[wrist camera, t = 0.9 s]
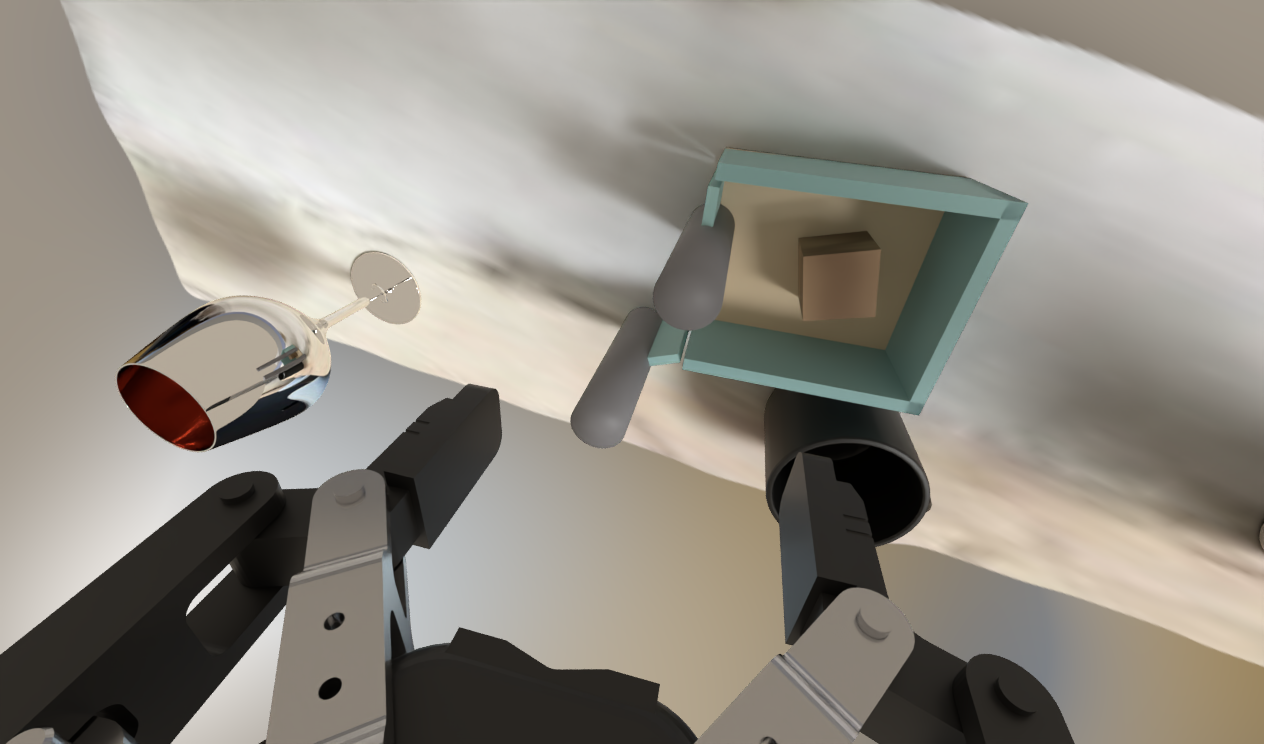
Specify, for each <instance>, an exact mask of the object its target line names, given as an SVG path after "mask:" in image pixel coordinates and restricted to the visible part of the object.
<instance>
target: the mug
mask: <svg viewBox="0 0 1264 744" xmlns="http://www.w3.org/2000/svg"><path fill="white" fill-rule="evenodd" d="M764 426H765V476H766V499H767V503H768V506H769V509H770V511H771V513H772V515H773V516H774V518H775V519H776V520H777V522H778V523H779V511H780V504H781V499H782V495H783V492H784V490H785V487H786V484H787V481H788V478H789V476H790V473H791V470H792V467H793V464H794V461H795V459H796V456H797V454H798V453H799V452H803V453H808V454H812V455H817V456H822V457H827V458H831V460H832V462H833V467H834V472H835V477H836V481H840V482H845V483H850V484H851V485H852V486H853V488H854V489H855V491H856V492H857V493H858V495H859V496H860V497H861V499H862V500H863V502H864V505H865V509H866V513H867V517H868V523H869V525H870V529H871V533H872V539H873V540H874V544H875V547H877V546H881V545H884V544H887V543H890V542H893V541H895V540H897V539H898V538H900V537H902V536H904V535H905V534H907V533H908V532H910V531H911V530H912V529H913V528H914V527H915V526H916V525H917V524H918V523H919V522H920V521H921V519H922V518H923V516H924V515H925V513H926V512H927V511H929V510H930V508H931V506H932V504H931V498H930V486H929V482H928V479H927V476H926V473H925V471H924V469H923V467H922V464H921V462H920V460H919V457H918V455H917V453H916V450H915V448H914V446H913V443H912V441H911V439H910V437H909V434H908V432H907V430H906V427H905V425H904V423H903V420H902V418H901V416H900V413H899V411H893V410H888V409H883V408H878V407H873V406H868V405H863V404H857V403H852V402H847V401H842V400H837V399H832V398H827V397H821V396H816V395H811V394H806V393H801V392H796V391H791V390H785V389H780V388H776V389H775V390H774V391H773V393H772V394H771V396H770V398H769V400H768V402H767V404H766V407H765V413H764Z"/></svg>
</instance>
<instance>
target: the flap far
mask: <svg viewBox="0 0 1264 744" xmlns="http://www.w3.org/2000/svg"><path fill="white" fill-rule="evenodd" d="M688 332H689V330H681V329H677V328H674V327H672V326H670V325H669V324H667V323H666V322H665V321H664V320H663V319H662V318H661V317H660V316H659V314H658V313H657V312H656V311H655V310H653V309H651V308H647V307H640V308H636V309H634V310H632V311H631V312H630V313H629V314H628V316H627V317H626V319H625V321H624V323H623V324H622V326H621V328H620V330H619V331H618V333H617V335H616V337H615V338H614V340H613V342H612V344H611V345H610V347H609V349H608V351H607V353H606V354H605V356H604V358H603V360H602V361H601V363H600V365H599V367H598V368H597V370H596V372H595V374H594V375H593V377H592V379H591V381H590V382H589V384H588V386H587V388H586V390H585V391H584V393H583V395H582V397H581V398H580V400H579V402H578V404H577V405H576V407H575V409H574V411H573V412H572V415H571V427H572V429H573V431H574V433H575V434H576V436H577V437H578V438H579V439H580V440H582V441H583V442H584V443H586V444H588V445H591V446H593V447H597V448H610V447H613V446H616V445H617V444H618V443H620V442H621V441H622V439H623V438H624V435H625V433H626V430H627V428H628V425H629V422H630V420H631V417H632V414H633V412H634V409H635V407H636V404H637V401H638V399H639V396H640V393H641V391H642V388H643V386H644V383H645V380H646V378H647V375H648V372H649V370H650V367H651V366H654V365H663V364H671V363H680V360H681V357H682V353H683V349H684V346H685V342H686V339H687V335H688Z"/></svg>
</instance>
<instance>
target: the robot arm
mask: <svg viewBox="0 0 1264 744" xmlns="http://www.w3.org/2000/svg"><path fill="white" fill-rule="evenodd" d="M501 439H502V428H501V415H500V403H499V394H498V391H497V390H496V389H493V388H488V387H483V386H478V385H473V384H468V385H466V386H465V387H464V388H463V389H462V390H461V391H460V392H459V393H458V394H457V395H456V396H455V397H454V398H453V399H449V398H445V399H443V400H442V401H440V402H438V403H436V404H434V405H432V406H430V407H428V408H427V409H426V410H425V411H424V412H423V413H422V414H421V415H420V416H419V417H418V418H417V419H416V422H413V423H412V424H411V425H410V426H409V427H408V428H407V429H406V432H403V433H402V434H401V435H400V436H399V437H398V438H397V439H396V440H395V441H394V442H393V443H392V444H391V445H390V446H389V447H388V448H387V449H386V450H385V451H384V452H383V453H382V454H381V455H380V456H379V457H378V458H377V459H376V460H375V461H373V462H372V464H370V466H368V467H367V469H358V470H351V471H347V472H344V473H341V474H338V475H336V476H334V477H332V478H330V479H329V480H328V481H326V482H325V483H323V484H322V485H321V486H320V487H319V488H313V489H311V488H310V489H281V487H280V485H279V482H278V480H277V478H276V477H275V476H274V475H273V474H271V473H268V472H262V471H251V472H245V473H241V474H237V475H234V476H231V477H229V478H226V479H224V480H222V481H220V482H218V483H217V484H215V485H214V486H212V487H211V488H209V489H208V490H207V491H206V492H204V493H203V494H202V495H201V496H200V497H198V498H197V499H196V500H194V501H193V502H192V503H190V504H189V505H188V506H187V507H185V508H184V509H183V510H182V511H180V512H179V513H178V514H177V515H175V516H174V517H173V518H172V519H171V520H169V521H168V522H167V523H165V524H164V525H163V526H162V527H160V528H159V529H158V530H157V531H155V532H154V533H153V534H152V535H150V536H149V537H148V538H146V539H145V540H144V541H143V542H142V543H141V544H139V545H138V546H136V547H135V548H134V549H133V550H132V551H130V552H129V553H128V554H126V555H125V556H124V557H123V558H121V559H120V560H119V561H118V562H116V563H115V564H114V565H113V566H111V567H110V568H109V569H108V570H106V571H105V572H104V573H102V574H101V575H100V576H99V577H98V578H96V579H95V580H94V581H92V582H91V583H90V584H89V585H88V586H86V587H85V588H84V589H82V590H81V591H80V592H79V593H77V594H76V595H75V596H74V597H72V598H71V599H70V600H69V601H67V602H66V603H65V604H64V605H62V606H61V607H60V608H59V609H57V610H56V611H55V612H53V613H52V614H51V615H50V616H49V617H47V618H46V619H45V620H43V621H42V622H41V623H40V624H38V625H37V626H36V627H35V628H33V629H32V630H31V631H30V632H28V633H27V634H26V635H25V636H24V637H22V638H21V639H20V640H18V641H17V642H16V643H15V644H13V645H12V646H11V647H9V648H8V649H7V650H6V651H4V652H3V653H2V654H1V655H0V744H171V742H172V741H173V740H174V739H175V737H176V736H177V735H178V734H179V733H180V731H181V730H182V729H183V728H184V727H185V725H186V724H187V723H188V722H189V721H190V719H191V718H192V717H193V716H194V715H195V713H196V712H197V711H198V710H199V709H200V707H201V706H202V705H203V704H204V703H205V701H206V700H207V699H208V698H209V697H210V695H211V694H212V693H213V692H214V691H215V689H216V688H217V687H218V686H219V685H220V683H221V682H222V681H223V680H224V679H225V677H226V676H227V675H228V674H229V673H230V671H231V670H232V669H233V668H234V666H235V665H236V664H237V663H238V662H239V661H240V659H241V658H242V657H243V656H244V654H245V653H246V652H247V651H248V650H249V649H250V647H251V646H252V645H253V644H254V642H255V641H256V640H257V639H258V638H259V636H260V635H261V634H262V633H263V632H264V630H265V629H266V628H267V627H268V626H269V624H270V623H271V622H272V621H273V620H274V618H275V617H276V616H277V615H278V614H279V612H280V611H281V610H282V609H283V607H284V606H285V605H286V610H285V618H284V624H283V631H282V638H281V645H280V651H279V658H278V665H277V671H276V678H275V685H274V691H273V698H272V705H271V712H270V718H269V725H268V732H267V738H266V740H264V741H262V742H261V743H259V744H852V743H853V741H854V740H855V738H856V737H857V735H858V733H859V732H861V733H863V734H865V735H866V736H868V737H869V738H871V739H872V740H874V741H875V742H877V743H879V744H1074V741H1073V739H1072V737H1071V734H1070V732H1069V730H1068V727H1067V725H1066V723H1065V721H1064V718H1063V716H1062V713H1061V711H1060V709H1059V707H1058V705H1057V703H1056V702H1055V700H1054V699H1053V697H1052V696H1051V695H1050V693H1049V692H1048V691H1047V690H1046V688H1045V687H1044V686H1043V685H1042V684H1041V683H1040V682H1039V681H1038V680H1037V679H1036V678H1035V677H1034V676H1032V675H1031V674H1030V673H1029V672H1027V671H1026V670H1025V669H1023V668H1022V667H1020V666H1018V665H1017V664H1016V663H1014V662H1012V661H1010V660H1008V659H1005V658H1003V657H1000V656H996V655H992V654H980V655H977V656H974V657H973V658H972V659H971V660H970V661H969V662H968V663H967V662H965V661H963V660H961V659H959V658H957V657H955V656H954V655H952V654H950V653H948V652H946V651H944V650H942V649H941V648H939V647H937V646H935V645H933V644H931V643H929V642H928V641H926V640H924V639H923V638H921V637H920V636H918V635H917V634H916V633H914V632H913V629H912V627H911V625H910V623H909V621H908V619H907V618H906V616H905V615H904V614H903V612H902V611H901V610H900V609H899V608H898V607H897V606H896V605H895V604H894V603H893V602H892V601H890V600H889V598H888V595H887V591H886V588H885V583H884V580H883V576H882V572H881V568H880V564H879V560H878V556H877V553H876V549H875V544H874V540H873V539H872V533H871V529H870V525H869V523H868V517H867V513H866V509H865V505H864V502H863V500H862V499H861V497H860V496H859V495H858V493H857V492H856V491H855V489H854V488H853V486H852V485H851V484H850V483H845V482H840V481H836V477H835V472H834V467H833V462H832V460H831V458H827V457H822V456H817V455H812V454H808V453H803V452H799V453H798V454H797V456H796V459H795V461H794V464H793V467H792V470H791V473H790V476H789V478H788V481H787V484H786V487H785V490H784V492H783V495H782V499H781V504H780V511H779V527H780V547H781V565H782V585H783V604H784V623H785V642H786V644H789V645H793V646H792V647H791V648H790V649H789V650H788V651H787V652H786V653H785V654H784V655H783V656H782V655H781V654H779V655H777V656H776V657H774V658H773V659H772V660H771V661H770V662H769V663H768V664H767V665H766V666H765V668H764V669H763V670H762V671H761V672H760V673H759V674H758V675H757V676H756V677H755V678H754V679H753V680H752V681H751V683H750V684H749V685H748V686H747V687H746V688H745V689H744V690H743V691H742V692H741V693H740V694H739V696H738V697H737V698H736V699H735V700H734V701H733V702H732V703H731V704H730V705H729V707H727V709H726V710H725V711H724V712H723V713H722V714H721V715H720V716H719V717H718V718H717V719H716V721H715V722H714V723H713V724H712V725H711V726H710V727H709V728H708V729H707V730H706V731H705V732H704V733H703V734H702V736H701V737H700V738H699V739H698V738H697V737H696V736H695V734H694V733H693V732H692V730H691V729H690V728H689V727H688V726H687V725H686V723H685V722H684V721H683V720H682V719H681V718H680V717H679V716H678V715H676V714H675V713H674V712H673V711H671V710H670V709H669V708H668V707H666V706H665V705H663V704H662V703H660V702H659V701H657V699H658V692H659V686H660V684H657V683H654V682H651V681H647V680H644V679H640V678H637V677H633V676H629V675H626V674H622V673H619V672H615V671H612V670H608V669H605V670H602V669H593V670H590V669H583V670H556V669H551V668H548V667H546V666H545V665H543V664H542V663H540V662H539V661H537V660H536V659H534V658H532V657H531V656H529V655H528V654H526V653H525V652H523V651H522V650H520V649H518V648H517V647H515V646H514V645H512V644H511V643H509V642H508V641H506V640H503V639H499V638H495V637H492V636H488V635H485V634H481V633H477V632H474V631H471V630H467V629H464V628H459V629H458V631H457V632H456V634H455V636H454V638H453V640H452V642H451V643H443V644H436V645H430V646H426V647H423V648H419V649H416V650H414V645H413V639H412V633H411V624H410V609H409V596H408V583H407V582H408V581H407V569H406V559H405V554H406V553H407V552H408V550H409V549H410V548H411V546H412V545H416V546H420V547H423V548H427V549H430V548H431V546H432V545H433V543H434V542H435V541H436V539H437V538H438V537H439V535H440V534H441V532H442V531H443V529H444V528H445V527H446V525H447V524H448V522H449V521H450V519H451V518H452V517H453V515H454V514H455V512H456V511H457V510H458V508H459V507H460V505H461V504H462V502H463V501H464V500H465V498H466V497H467V495H468V494H469V492H470V491H471V489H472V488H473V487H474V485H475V484H476V483H477V481H478V480H479V478H480V477H481V475H482V474H483V473H484V471H485V469H486V468H487V467H488V465H489V464H490V463H491V461H492V460H493V458H494V457H495V455H496V454H497V452H498V450H499V447H500V443H501ZM1259 539H1260V543H1261V546H1262V548H1263V549H1264V524H1263V525H1262V527H1261V529H1260V536H1259ZM228 564H230V565H231V567H232V569H233V570H232V571H231V572H230V573H229V574H228V575H227V576H226V577H225V578H224V579H223V580H222V581H221V582H220V583H219V584H218V585H217V586H216V587H215V588H214V589H213V590H212V591H211V592H210V593H209V594H208V595H207V596H206V597H205V598H204V599H203V600H202V601H201V602H200V603H199V604H198V605H197V606H196V607H195V608H194V609H193V610H192V611H191V612H190V613H189V614H188V615H187V616H186V612H187V610H188V607H189V605H190V603H191V602H192V600H193V599H194V598H195V597H196V596H197V594H198V593H200V591H201V590H202V589H203V588H205V587H206V586H207V585H208V584H209V583H210V582H211V581H212V580H213V579H214V578H215V577H216V576H217V575H218V574H219V573H220V572H221V571H222V570H223V569H224V568H225V567H226V566H227V565H228Z"/></svg>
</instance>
